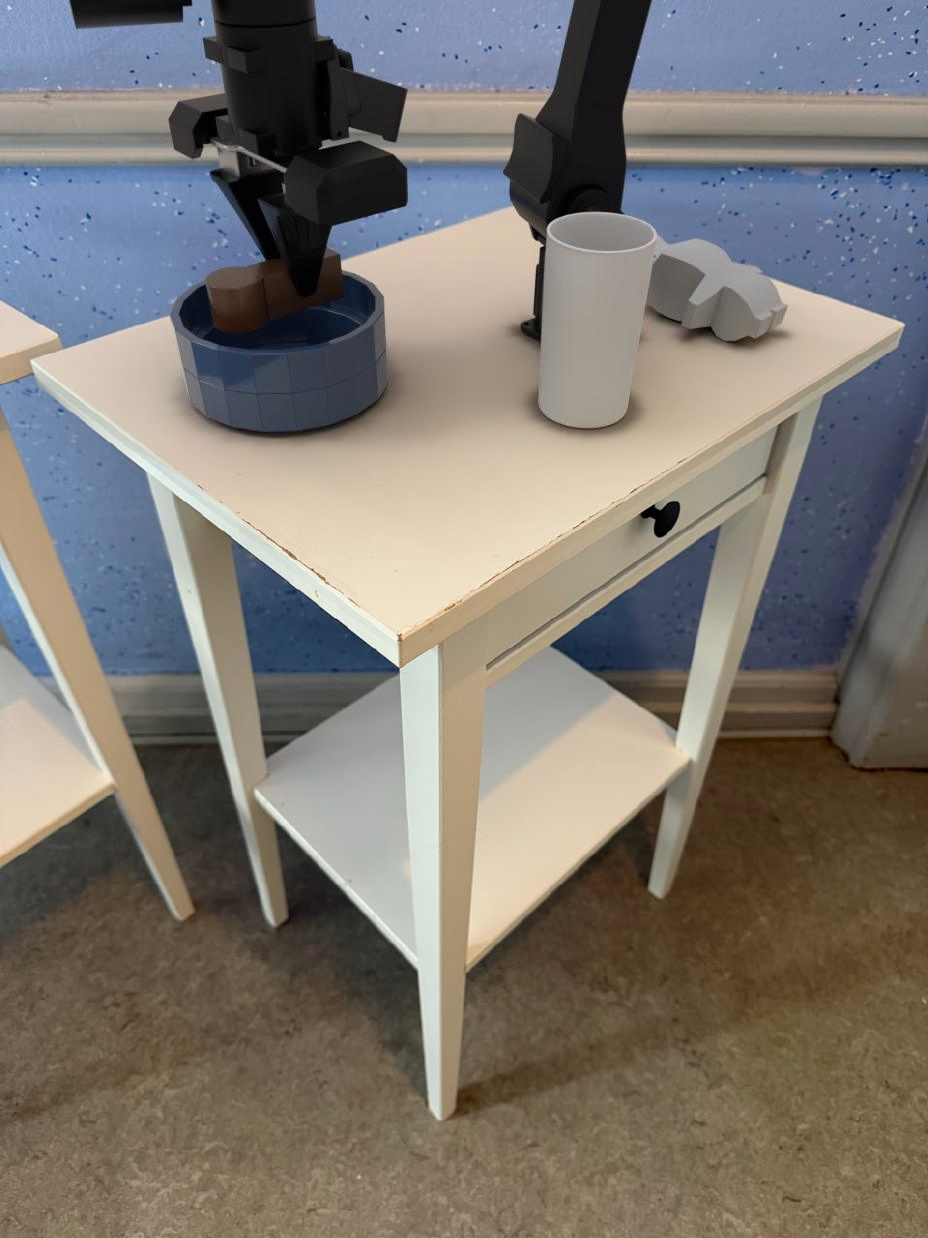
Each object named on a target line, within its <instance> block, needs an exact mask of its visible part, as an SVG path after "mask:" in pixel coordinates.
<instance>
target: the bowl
mask: <svg viewBox="0 0 928 1238" xmlns="http://www.w3.org/2000/svg"><path fill="white" fill-rule="evenodd" d="M342 280H343V291H344V297H342V298H339V299H336V300H332V301H329V302H326V303H323V304H320V305H317V306H314V307H310V308H307V309H304V310H301V311H298V312H295V313H292V314H288V315H285V316H282V317H279V318H276V319H273V320H268V322H267V324H266V325H265V326H263V327H262V328H260V329H258V330H255V331H252V332H247V333H227V332H223V331H220V330H218V329H217V328H216V327H215V326H214V324H213V319H212V314H211V309H210V303H209V298H208V293H207V288H206V282H205V279H204V280H202V281H200V282H198V283H196V284H194V285H192V286H190V287H189V288H188V289H186V290H185V291H184V292H183V293H181V295H179V296H178V297H177V298H175V301H174V303H173V305H172V308H171V310H170V313H169V319H170V323H171V328H172V332H173V336H174V341H175V346H176V351H177V355H178V359H179V364H180V369H181V373H182V377H183V378H182V379H183V383H184V386H185V390H186V394H187V397H188V400H189V402H190V404H191V405H192V406H193V407H194V408H195V409H197V410H198V411H199V412H200V413H201V414H202V415H204V416H205V417H206V418H208V419H211V420H214V421H216V422H219V423H221V424H224V425H226V426H229V427H232V428H236V429H237V428H238V429H242V430H247V431H251V432H260V433H295V432H296V433H297V432H304V431H310V430H316V429H319V428H323V427H328V426H331V425H333V424H337V423H339V422H342V421H345V420H347V419H349V418H351V417H353V416H355V415H358V414H359V413H361V412H362V411H364V410H365V409H366V408H368V407H370V406H371V405H372V404H374V403H375V402H376V401H378V399H379V398H380V396H381V395H382V394H383V392H384V391H385V389H386V388H387V386H388V383H389V365H388V364H389V362H388V347H387V346H388V344H387V327H386V326H387V325H386V323H387V322H386V307H385V306H386V305H385V296H384V295H383V293H382V292H381V291H380V290H379V288H378V287H377V286H376V284H375V283H373V282H372V281H370V280H368V279H367V278H364V277H363V276H361V275H359V274H357V273H355V272H351V271H348V270H344V269H342Z"/></svg>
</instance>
